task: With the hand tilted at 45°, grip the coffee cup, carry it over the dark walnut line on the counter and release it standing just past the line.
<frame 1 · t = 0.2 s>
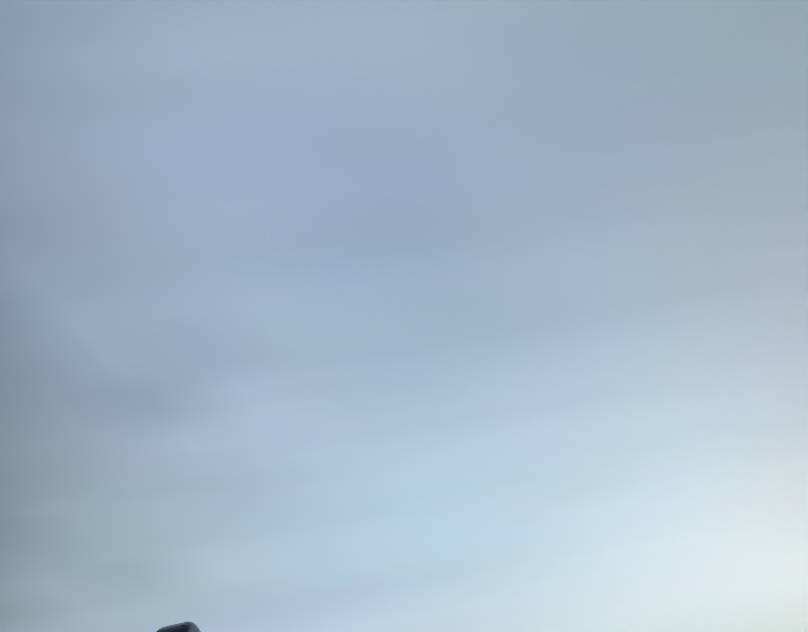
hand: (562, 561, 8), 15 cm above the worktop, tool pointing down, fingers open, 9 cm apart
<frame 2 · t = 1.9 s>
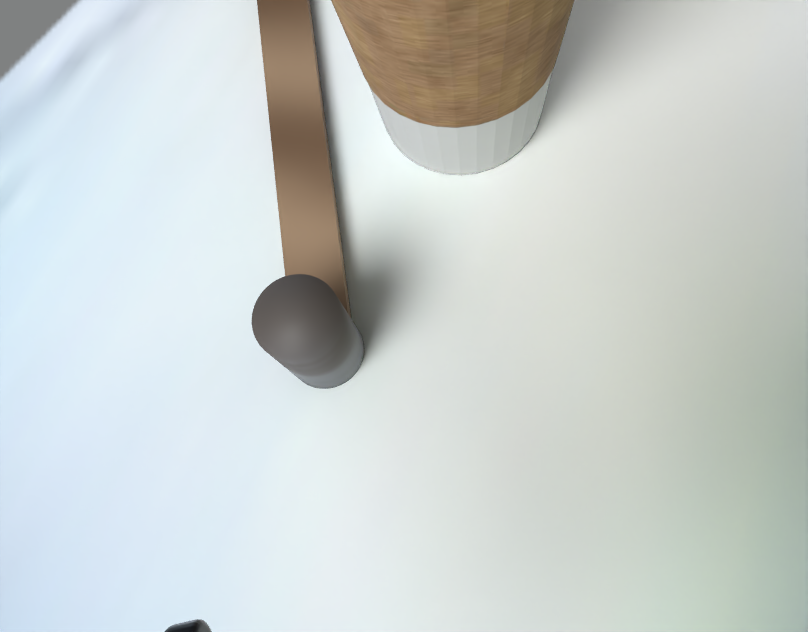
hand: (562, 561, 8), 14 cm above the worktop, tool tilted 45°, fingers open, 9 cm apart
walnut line: (300, 136, 26), on the worktop
coffee cup: (461, 108, 26), on the worktop
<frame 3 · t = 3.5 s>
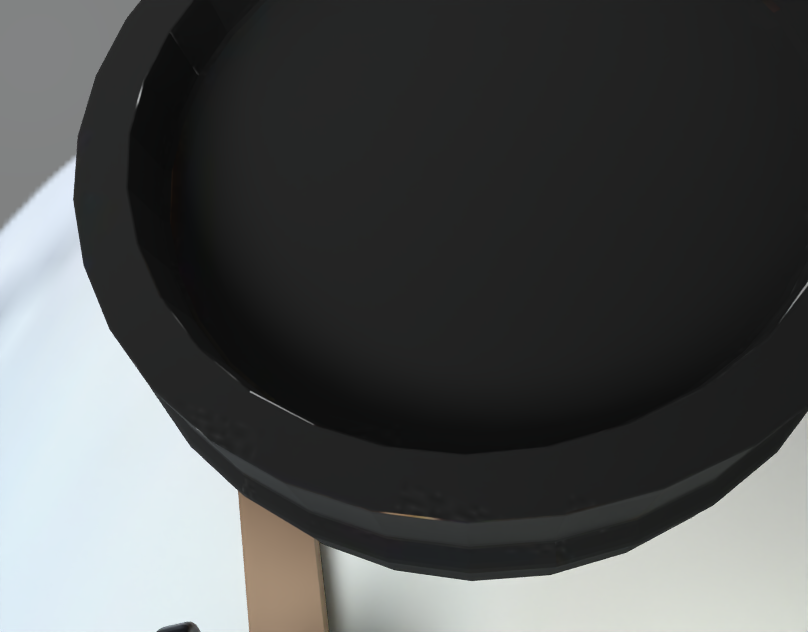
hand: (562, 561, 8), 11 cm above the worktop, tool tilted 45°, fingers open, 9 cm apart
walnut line: (273, 437, 21), on the worktop
coffee cup: (479, 402, 21), on the worktop
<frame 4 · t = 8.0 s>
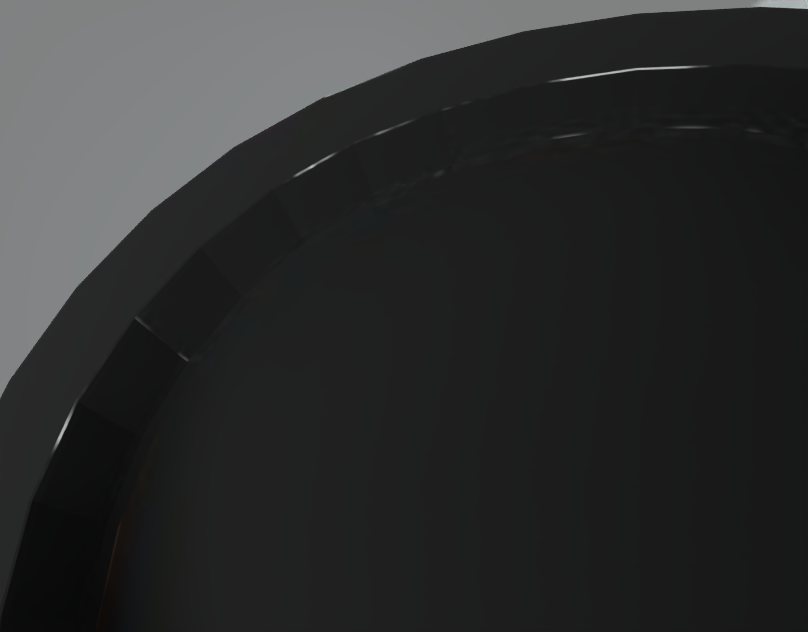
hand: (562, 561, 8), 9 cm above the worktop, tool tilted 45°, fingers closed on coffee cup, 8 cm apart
when the fingers open (9 cm above the worktop, at t = 8.6 s): coffee cup stays where it is, on the worktop.
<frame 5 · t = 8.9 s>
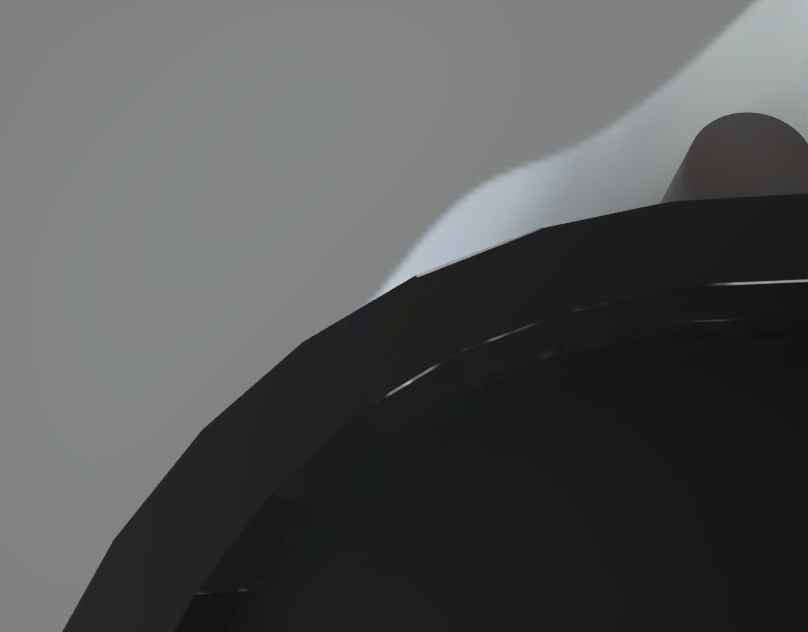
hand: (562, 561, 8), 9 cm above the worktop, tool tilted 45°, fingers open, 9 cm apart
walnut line: (801, 569, 16), on the worktop
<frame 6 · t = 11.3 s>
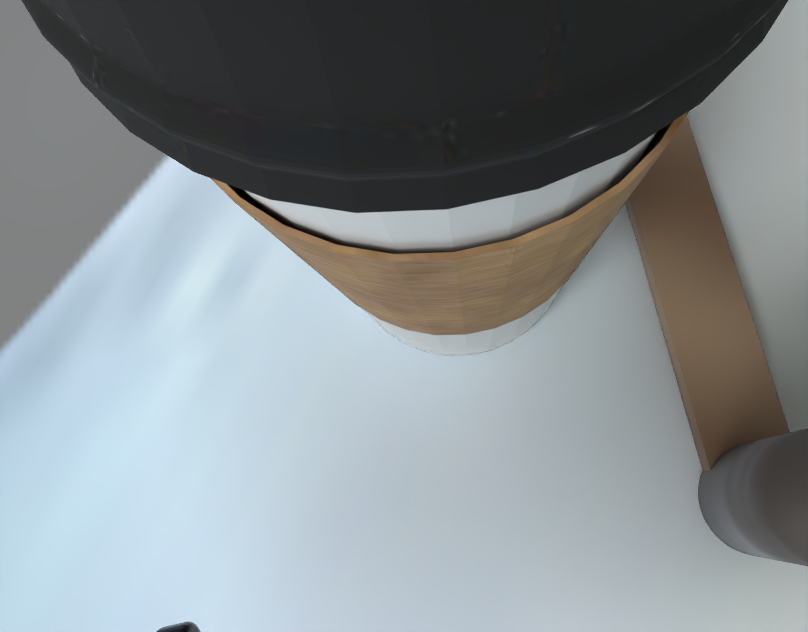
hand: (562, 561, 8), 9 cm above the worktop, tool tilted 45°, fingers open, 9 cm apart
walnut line: (658, 181, 19), on the worktop
coffee cup: (456, 253, 19), on the worktop
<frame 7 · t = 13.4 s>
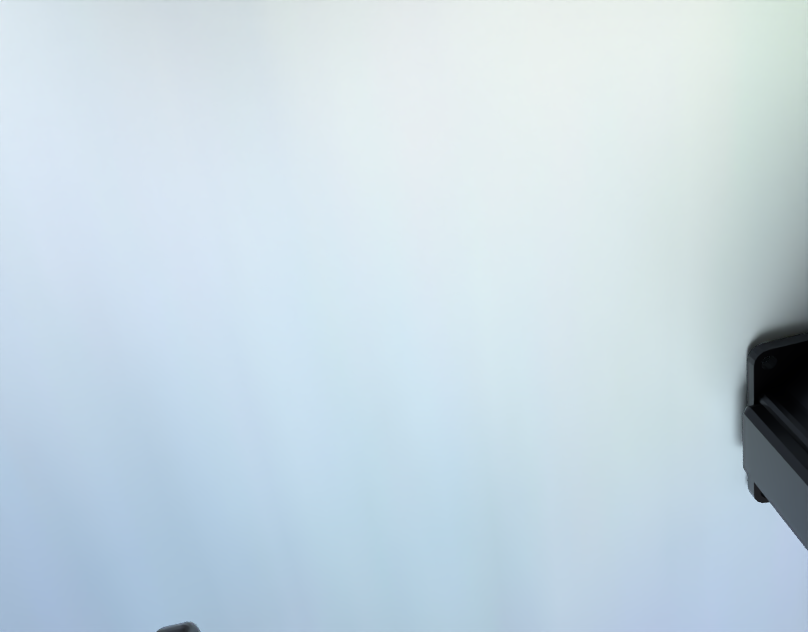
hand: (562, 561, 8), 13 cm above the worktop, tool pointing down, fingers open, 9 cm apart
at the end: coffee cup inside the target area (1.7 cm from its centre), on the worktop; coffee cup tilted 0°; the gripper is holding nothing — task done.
